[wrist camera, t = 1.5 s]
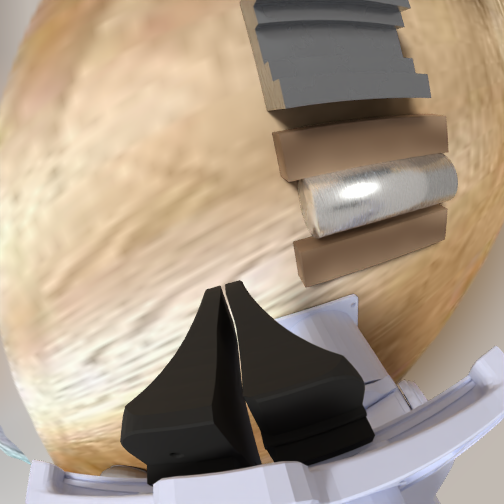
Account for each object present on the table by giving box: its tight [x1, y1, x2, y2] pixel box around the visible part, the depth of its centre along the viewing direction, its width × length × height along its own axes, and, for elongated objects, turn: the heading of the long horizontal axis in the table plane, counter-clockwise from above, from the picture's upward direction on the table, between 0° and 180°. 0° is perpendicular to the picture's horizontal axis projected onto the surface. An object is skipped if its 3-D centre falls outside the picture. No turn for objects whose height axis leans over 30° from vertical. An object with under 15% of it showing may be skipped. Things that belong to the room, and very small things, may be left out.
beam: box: [272, 114, 448, 287], centre depth 19 cm, size 11×14×2 cm
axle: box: [298, 153, 458, 238], centre depth 18 cm, size 12×4×4 cm, turn 103°
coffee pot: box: [100, 465, 147, 478], centre depth 29 cm, size 21×12×15 cm, turn 73°
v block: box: [240, 0, 431, 111], centre depth 13 cm, size 8×10×4 cm
